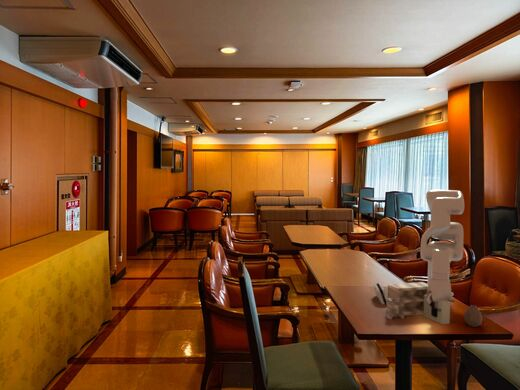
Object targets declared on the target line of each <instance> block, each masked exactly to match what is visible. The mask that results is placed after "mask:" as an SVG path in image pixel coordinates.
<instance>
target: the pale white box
mask: <svg viewBox="0 0 520 390" xmlns="http://www.w3.org/2000/svg"><path fill="white" fill-rule="evenodd" d="M426 299H427V294H426V295H424V313H423V314H422V315H423V316H424V317H426V318H428V319H430V320H431V321H434V322H436V323H438V324H440V325H449V324H450V318H451V302H450V301H447V300H441V301H439V302H438V303H437V309H438V313H437V317H434V316H432V315H431V307H430V305H429V304H428V303H427V302H426ZM430 301H431V300H430Z"/></svg>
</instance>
